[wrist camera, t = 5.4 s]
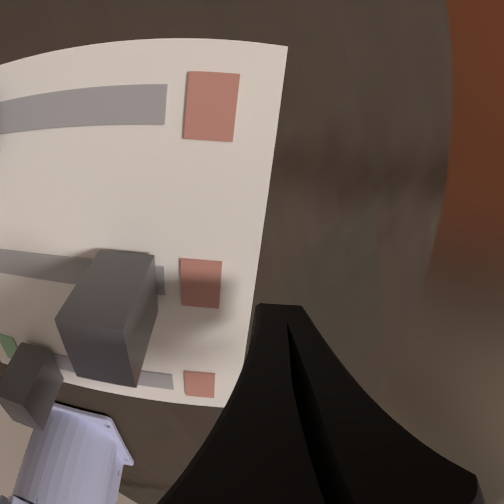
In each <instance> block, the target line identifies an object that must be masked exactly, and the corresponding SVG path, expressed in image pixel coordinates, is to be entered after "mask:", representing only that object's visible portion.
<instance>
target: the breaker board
mask: <svg viewBox="0 0 504 504" xmlns="http://www.w3.org/2000/svg"><path fill="white" fill-rule="evenodd" d="M287 49H288V47H286V46H280V45H273V44H265V43H256V42H246V41H235V40H220V39H193V38H170V39H143V40H129V41H118V42H108V43H100V44H93V45H86V46H79V47H73V48H68V49H63V50H57V51H53V52H48V53H43V54H39V55H35V56H31V57H27V58H23V59H20V60H16V61H12V62H9V63H6V64H2V65H0V360H1V362H2V363H4V364H7V367H6V369H5V371H4V372H3V374H2V376H1V378H0V404H1V405H2V407H3V408H4V409H5V410H6V412H7V413H8V414H9V416H10V417H11V418H12V419H13V420H14V421H16V422H19V423H21V424H24V425H26V426H29V427H31V428H34V429H37V430H39V431H42V432H43V431H44V428H45V425H46V423H47V420H48V417H49V415H50V412H51V410H52V407H53V404H54V402H55V400H56V397H57V395H58V392H59V390H60V387H61V385H62V383H63V382H66V383H70V384H74V385H78V386H82V387H87V388H91V389H96V390H100V391H105V392H110V393H115V394H121V395H126V396H132V397H138V398H144V399H151V400H158V401H165V402H173V403H181V404H191V405H201V406H214V407H225V405H226V403H227V401H228V399H229V397H230V395H231V393H232V391H233V389H234V387H235V385H236V382H237V380H238V378H239V375H240V373H241V370H242V368H243V362H244V355H245V349H246V342H247V335H248V328H249V322H250V315H251V308H252V301H253V294H254V288H255V281H256V274H257V267H258V260H259V253H260V246H261V239H262V232H263V225H264V218H265V211H266V204H267V197H268V190H269V182H270V175H271V168H272V161H273V154H274V146H275V139H276V132H277V124H278V117H279V110H280V102H281V95H282V87H283V80H284V72H285V65H286V57H287ZM100 250H105V251H116V252H127V253H138V254H149V255H155V271H156V286H157V299H158V314H157V317H156V320H155V324H154V327H153V330H152V334H151V337H150V341H149V344H148V348H147V351H146V355H145V358H144V362H143V366H142V369H141V373H140V377H139V381H138V385H137V388H132V387H126V386H121V385H115V384H110V383H105V382H100V381H95V380H91V379H86V378H82V377H77V376H76V373H75V371H74V369H73V367H72V364H71V362H70V359H69V357H68V355H67V352H66V350H65V347H64V345H63V342H62V339H61V337H60V334H59V331H58V329H57V326H56V323H55V320H54V318H55V317H56V315H57V314H58V312H59V310H60V309H61V307H62V306H63V304H64V302H65V301H66V299H67V298H68V296H69V295H70V293H71V292H72V290H73V289H74V287H75V286H76V284H77V283H78V281H79V280H80V278H81V277H82V275H83V274H84V272H85V271H86V269H87V268H88V266H89V265H90V264H91V262H92V261H93V259H94V258H95V256H96V255H97V254H98V252H99V251H100Z"/></svg>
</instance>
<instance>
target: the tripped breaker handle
mask: <svg viewBox="0 0 504 504" xmlns="http://www.w3.org/2000/svg"><path fill="white" fill-rule="evenodd" d="M157 314H158V299H157V286H156V271H155V255H149V254H138V253H127V252H116V251H105V250H100V251H99V252H98V254H97V255H96V256H95V258H94V259H93V261H92V262H91V264H90V265H89V266H88V268H87V269H86V271H85V272H84V274H83V275H82V277H81V278H80V280H79V281H78V283H77V284H76V286H75V287H74V289H73V290H72V292H71V293H70V295H69V296H68V298H67V299H66V301H65V302H64V304H63V306H62V307H61V309H60V310H59V312H58V314H57V315H56V317H55V318H54V320H55V323H56V326H57V329H58V331H59V334H60V337H61V339H62V342H63V345H64V347H65V350H66V352H67V355H68V357H69V359H70V362H71V364H72V367H73V369H74V371H75V373H76V376H77V377H82V378H86V379H91V380H95V381H100V382H105V383H110V384H115V385H121V386H126V387H132V388H137V385H138V381H139V377H140V373H141V369H142V366H143V362H144V358H145V355H146V351H147V348H148V344H149V341H150V337H151V334H152V330H153V327H154V324H155V320H156V317H157Z"/></svg>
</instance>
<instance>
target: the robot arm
mask: <svg viewBox="0 0 504 504" xmlns="http://www.w3.org/2000/svg"><path fill="white" fill-rule="evenodd" d="M123 464H125V465H131V466H132V465H134V461H133V459H132V457H131V455H130V454H129V452H128V450H127V448H126V446H125V444H124V442H123V440H122V438H121V437H120V435H119V433H118V431H117V429H116V426H115V424H114V422H113V420H112V419H111V418H110V417H108V416H104V415H100V414H96V413H91V412H87V411H83V410H79V409H76V408H72V407H68V406H65V405H61V404H58V403H54V404H53V407H52V410H51V412H50V415H49V417H48V420H47V423H46V425H45V428H44V431H43V432H42V431H39V430H37V429H34V430H33V433H32V435H31V438H30V441H29V443H28V446H27V449H26V452H25V455H24V458H23V461H22V464H21V467H20V470H19V473H18V477H17V480H16V483H15V487H14V490H13V495H12V496H10V497H9V499H8V498H6V497H4V496H2V495H1V496H0V504H116V503H117V497H118V491H119V486H120V480H121V475H122V469H123ZM157 504H485V500H484V497H483V494H482V491H481V488H480V485H479V483H478V480H477V477H476V475H475V474H473V473H471V472H469V471H467V470H465V469H464V468H462V467H460V466H458V465H456V464H454V463H453V462H451V461H449V460H447V459H446V458H444V457H442V456H441V455H439V454H437V453H436V452H435V451H433V450H432V449H431V448H429V447H428V446H426V445H425V444H423V443H422V442H420V441H419V440H418V439H417V438H415V437H414V436H413V435H412V434H410V433H409V432H408V431H406V430H405V429H404V428H403V427H402V426H401V425H399V424H398V423H397V422H396V421H394V420H393V419H392V418H391V417H390V416H389V415H388V414H387V413H386V412H385V411H384V410H382V408H381V407H380V406H379V405H378V404H377V403H376V402H375V401H374V400H373V399H372V398H371V397H370V396H369V395H368V394H367V393H366V392H365V391H364V390H363V388H362V387H361V386H360V385H359V384H358V383H357V382H356V380H355V379H354V378H353V377H352V376H351V374H350V373H349V372H348V371H347V369H346V368H345V367H344V366H343V364H342V363H341V362H340V360H339V359H338V358H337V356H336V355H335V354H334V352H333V351H332V350H331V348H330V347H329V346H328V344H327V343H326V341H325V340H324V338H323V337H322V336H321V334H320V333H319V331H318V330H317V328H316V327H315V325H314V324H313V322H312V321H311V319H310V318H309V316H308V314H307V313H306V311H305V310H304V308H303V307H302V306H297V305H279V304H264V303H260V304H258V305H257V306H256V307H255V314H254V320H253V326H252V333H251V339H250V345H249V351H248V354H247V357H246V360H245V363H244V365H243V368H242V370H241V373H240V375H239V378H238V380H237V382H236V385H235V387H234V389H233V391H232V393H231V395H230V397H229V399H228V401H227V403H226V405H225V407H224V409H223V411H222V413H221V415H220V416H219V418H218V420H217V422H216V423H215V425H214V427H213V429H212V430H211V432H210V434H209V435H208V437H207V438H206V440H205V442H204V443H203V445H202V446H201V448H200V449H199V451H198V452H197V453H196V455H195V456H194V458H193V459H192V461H191V462H190V463H189V465H188V466H187V468H186V469H185V470H184V472H183V473H182V474H181V476H180V477H179V478H178V480H177V481H176V482H175V483H174V484H173V486H172V487H171V488H170V489H169V490H168V492H167V493H166V494H165V495H164V496H163V497H162V499H161V500H160V501H159V502H158V503H157Z"/></svg>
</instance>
